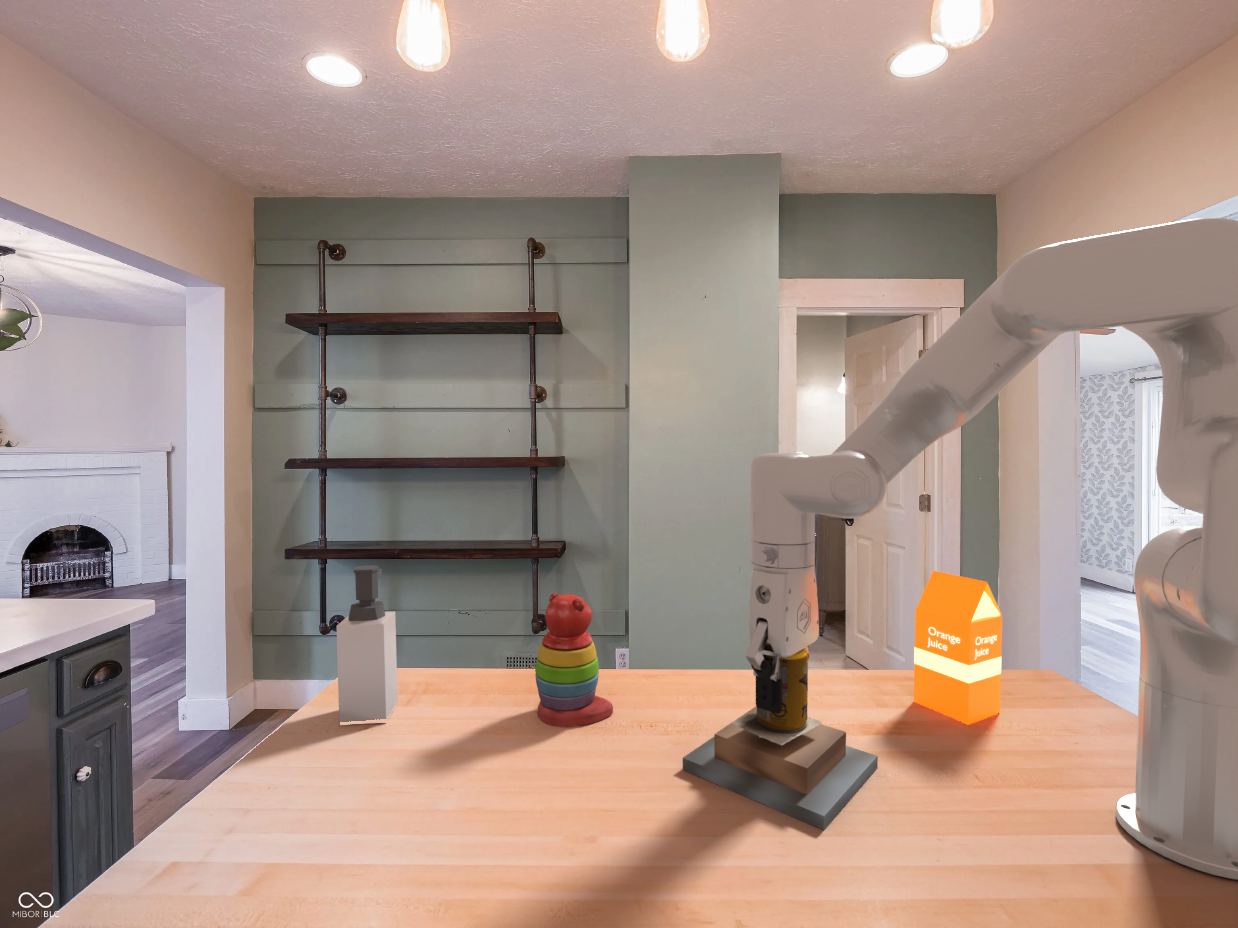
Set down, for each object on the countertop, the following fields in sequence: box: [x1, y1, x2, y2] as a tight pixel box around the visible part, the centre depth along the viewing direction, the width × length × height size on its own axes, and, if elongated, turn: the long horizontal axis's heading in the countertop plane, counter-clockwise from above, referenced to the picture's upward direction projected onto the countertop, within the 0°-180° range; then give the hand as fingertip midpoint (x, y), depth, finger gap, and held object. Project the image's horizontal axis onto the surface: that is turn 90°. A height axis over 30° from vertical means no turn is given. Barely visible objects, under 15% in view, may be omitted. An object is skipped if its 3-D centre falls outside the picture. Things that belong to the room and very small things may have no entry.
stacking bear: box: [534, 592, 614, 728], centre depth 92 cm, size 11×10×18 cm
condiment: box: [730, 645, 823, 745], centre depth 76 cm, size 7×8×12 cm
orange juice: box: [913, 570, 1003, 726], centre depth 93 cm, size 8×9×20 cm
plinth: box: [682, 705, 879, 831], centre depth 77 cm, size 18×16×4 cm
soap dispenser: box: [336, 565, 399, 723], centre depth 93 cm, size 6×9×22 cm
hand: (782, 698), depth 76 cm, fingers closed on condiment, 6 cm apart
